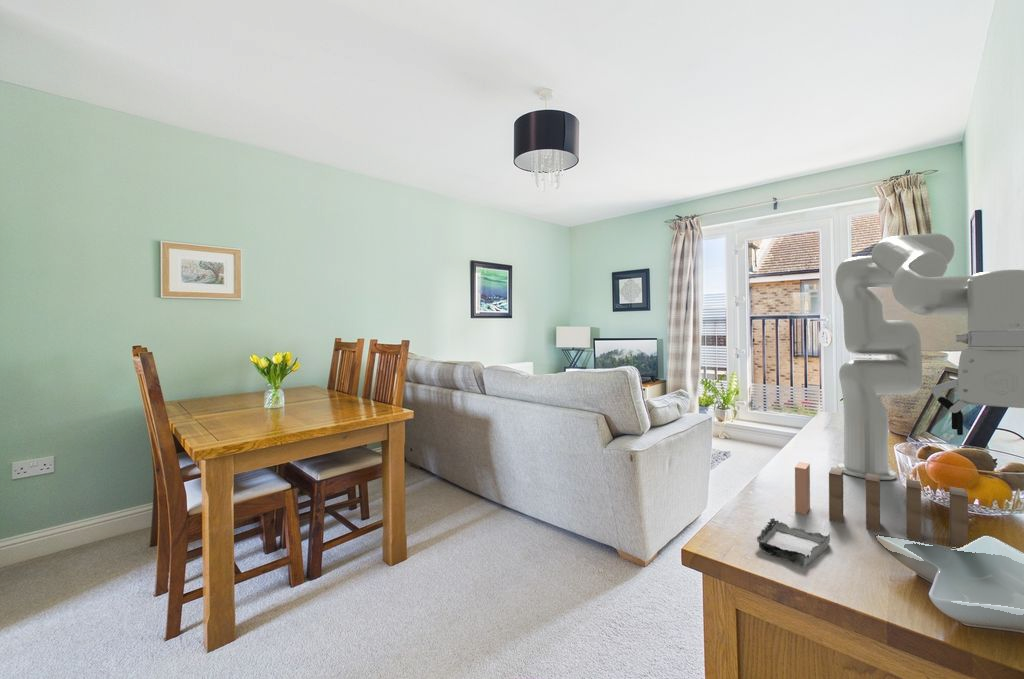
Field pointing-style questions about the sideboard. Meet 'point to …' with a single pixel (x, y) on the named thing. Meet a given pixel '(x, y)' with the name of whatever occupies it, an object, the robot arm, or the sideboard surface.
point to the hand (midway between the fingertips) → (999, 438)
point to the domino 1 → (802, 488)
